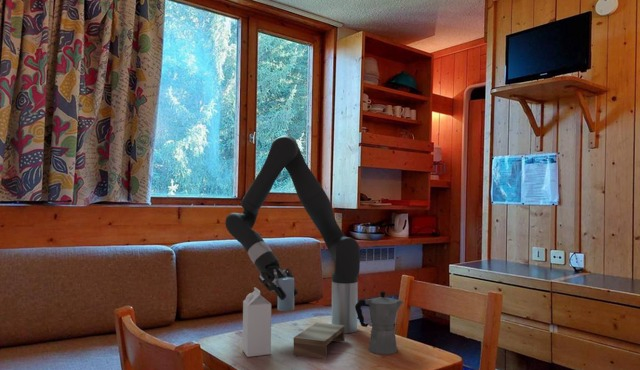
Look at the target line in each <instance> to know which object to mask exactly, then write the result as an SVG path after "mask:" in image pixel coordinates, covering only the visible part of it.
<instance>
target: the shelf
mask: <svg viewBox="0 0 640 370" xmlns="http://www.w3.org/2000/svg"><path fill="white" fill-rule="evenodd" d="M345 334H346V333H345V325H335V324H332V323H321V322H315V323H313V324H312V325H311V326H309V327H307V328H306V329H305V330H303V331H301V332H300V333H298V334H297V335H295V336H293V351H292V352H293V354H292V355H294V356H301V357H309V358H316V359H318V358H319V359H325V360H326V359H327V357H328V356H327V355H328V354H327V353H328V351H327V350H328V349H327V347H328V346H327V345H329V344H330V343H331V342H340V343H344V342H345V337H346V335H345Z"/></svg>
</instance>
